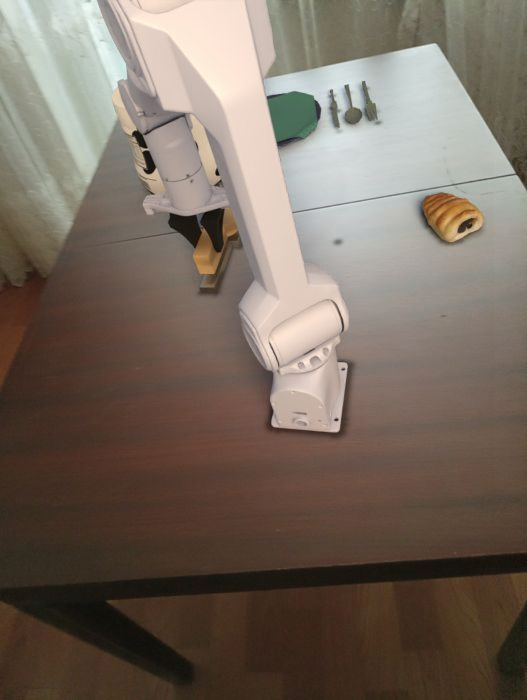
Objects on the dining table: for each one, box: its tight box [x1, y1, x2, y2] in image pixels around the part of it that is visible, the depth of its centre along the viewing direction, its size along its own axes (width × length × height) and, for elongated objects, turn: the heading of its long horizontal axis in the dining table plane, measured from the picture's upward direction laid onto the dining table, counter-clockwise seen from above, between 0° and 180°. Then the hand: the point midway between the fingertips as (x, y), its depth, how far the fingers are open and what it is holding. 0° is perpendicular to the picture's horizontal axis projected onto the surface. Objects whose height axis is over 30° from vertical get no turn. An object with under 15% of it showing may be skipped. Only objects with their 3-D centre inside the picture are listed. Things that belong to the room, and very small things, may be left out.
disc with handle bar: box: [192, 208, 238, 275], centre depth 76 cm, size 13×5×4 cm, turn 168°
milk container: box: [111, 86, 222, 195], centre depth 87 cm, size 17×17×18 cm
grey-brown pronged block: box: [199, 230, 242, 294], centre depth 79 cm, size 17×5×1 cm, turn 168°
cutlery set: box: [266, 80, 379, 147], centre depth 98 cm, size 20×30×2 cm, turn 90°
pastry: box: [421, 191, 485, 243], centre depth 72 cm, size 9×7×4 cm
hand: (211, 248), depth 75 cm, fingers closed on disc with handle bar, 2 cm apart
